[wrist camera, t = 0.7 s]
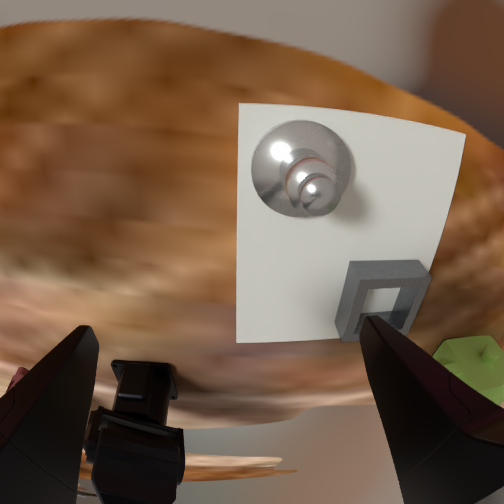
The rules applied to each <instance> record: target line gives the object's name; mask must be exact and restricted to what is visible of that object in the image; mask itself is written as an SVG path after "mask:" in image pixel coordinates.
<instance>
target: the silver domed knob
mask: <svg viewBox="0 0 504 504" xmlns="http://www.w3.org/2000/svg"><path fill="white" fill-rule="evenodd" d="M350 175H351V159H350V155H349V152H348V149H347V147H346V145H345V143H344V142H343V140H342V139H341V138H340V137H339V136H338V135H337V134H336V133H335V132H334V131H333V130H331V129H330V128H328V127H326V126H325V125H323V124H321V123H318V122H315V121H312V120H306V119H296V120H289V121H286V122H283V123H280V124H278V125H276V126H275V127H273V128H271V129H270V130H269V131H268V132H266V134H265V135H264V136H263V137H262V138H261V139H260V140H259V142H258V144H257V145H256V147H255V149H254V152H253V155H252V159H251V176H252V181H253V185H254V188H255V190H256V192H257V194H258V196H259V197H260V199H261V200H262V201H263V202H264V203H265V204H266V205H267V206H268V207H269V208H271V209H272V210H274V211H275V212H278V213H280V214H282V215H285V216H290V217H308V216H324V215H327V214H329V213H331V212H332V211H333V210H334V209H335V208H336V207H337V205H338V203H339V201H340V199H341V197H342V195H343V193H344V192H345V190H346V188H347V186H348V183H349V180H350Z"/></svg>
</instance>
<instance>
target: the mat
mask: <svg viewBox="0 0 504 504" xmlns="http://www.w3.org/2000/svg"><path fill="white" fill-rule="evenodd" d="M296 119H306V120H312V121H315V122H318V123H321V124H323V125H325V126H326V127H328V128H330V129H331V130H333V131H334V132H335V133H336V134H337V135H338V136H339V137H340V138H341V139H342V140H343V142H344V143H345V145H346V147H347V149H348V152H349V155H350V159H351V175H350V180H349V183H348V186H347V188H346V190H345V192H344V193H343V195H342V197H341V199H340V201H339V203H338V205H337V207H336V208H335V209H334V210H333V211H332V212H331V213H329V214H327V215H324V216H308V217H290V216H285V215H282V214H280V213H278V212H275V211H274V210H272V209H271V208H269V207H268V206H267V205H266V204H265V203H264V202H263V201H262V200H261V199H260V197H259V196H258V194H257V192H256V190H255V188H254V185H253V181H252V176H251V159H252V155H253V152H254V149H255V147H256V145H257V144H258V142H259V140H260V139H261V138H262V137H263V136H264V135H265V134H266V132H268V131H269V130H270V129H271V128H273V127H275V126H276V125H278V124H280V123H283V122H286V121H289V120H296ZM465 138H466V134H463V133H460V132H457V131H453V130H449V129H445V128H441V127H437V126H432V125H428V124H423V123H419V122H414V121H409V120H404V119H398V118H393V117H387V116H381V115H375V114H369V113H362V112H355V111H347V110H339V109H330V108H321V107H310V106H297V105H282V104H259V103H239V126H238V178H237V271H236V341H237V343H255V342H284V341H304V340H320V339H333V338H340V337H339V334H338V331H337V329H336V326H335V323H334V321H335V318H336V314H337V310H338V306H339V302H340V299H341V295H342V291H343V287H344V283H345V278H346V274H347V270H348V266H349V261H364V260H419V261H420V262H421V263H422V265H423V266H424V267H425V268H426V270H427V271H428V272H429V270H430V267H431V264H432V262H433V259H434V256H435V253H436V250H437V247H438V244H439V241H440V238H441V235H442V232H443V228H444V225H445V222H446V218H447V215H448V211H449V208H450V204H451V200H452V197H453V193H454V189H455V185H456V181H457V177H458V172H459V168H460V163H461V158H462V154H463V149H464V143H465ZM399 291H400V288H383V289H368V292H367V295H366V298H365V301H364V305H363V308H362V311H361V313H371V312H384V311H392V309H393V307H394V304H395V302H396V299H397V296H398V293H399Z"/></svg>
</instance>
